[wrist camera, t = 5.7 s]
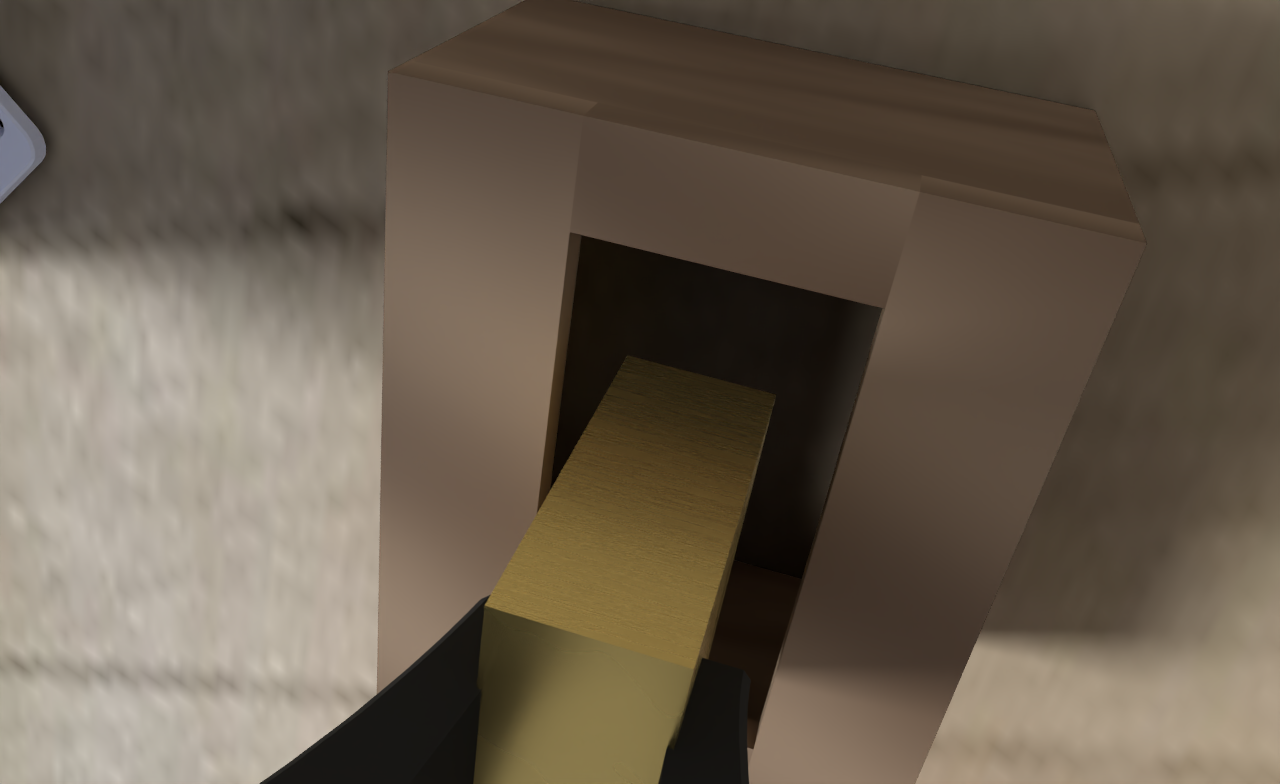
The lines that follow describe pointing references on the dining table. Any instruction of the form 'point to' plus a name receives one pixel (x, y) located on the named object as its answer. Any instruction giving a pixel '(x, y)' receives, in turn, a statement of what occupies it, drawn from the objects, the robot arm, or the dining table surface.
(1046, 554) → the dining table surface
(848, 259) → the box
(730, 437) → the yellow rectangular block
